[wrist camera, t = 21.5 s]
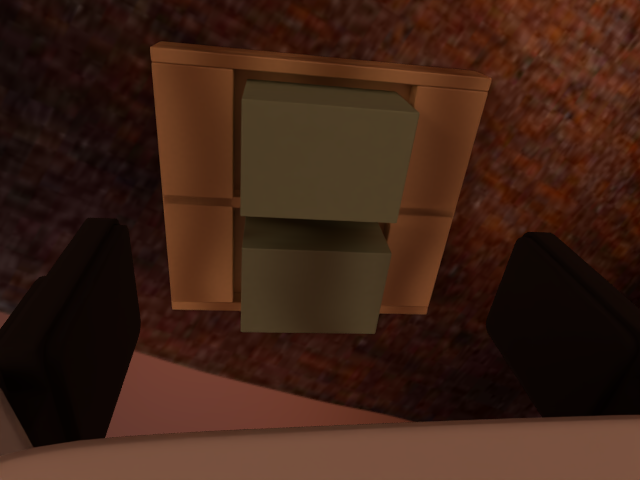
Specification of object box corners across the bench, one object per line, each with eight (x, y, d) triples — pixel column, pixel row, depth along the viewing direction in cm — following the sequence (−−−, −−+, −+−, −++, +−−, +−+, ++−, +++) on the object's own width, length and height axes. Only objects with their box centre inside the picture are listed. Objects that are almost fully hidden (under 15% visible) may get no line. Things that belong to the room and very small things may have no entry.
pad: (245, 180, 22) (240, 216, 19) (246, 78, 20) (241, 98, 17) (378, 188, 23) (397, 224, 20) (396, 91, 21) (420, 112, 17)
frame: (178, 288, 27) (160, 348, 22) (160, 41, 20) (128, 57, 16) (417, 294, 29) (442, 350, 24) (475, 70, 22) (525, 92, 17)
